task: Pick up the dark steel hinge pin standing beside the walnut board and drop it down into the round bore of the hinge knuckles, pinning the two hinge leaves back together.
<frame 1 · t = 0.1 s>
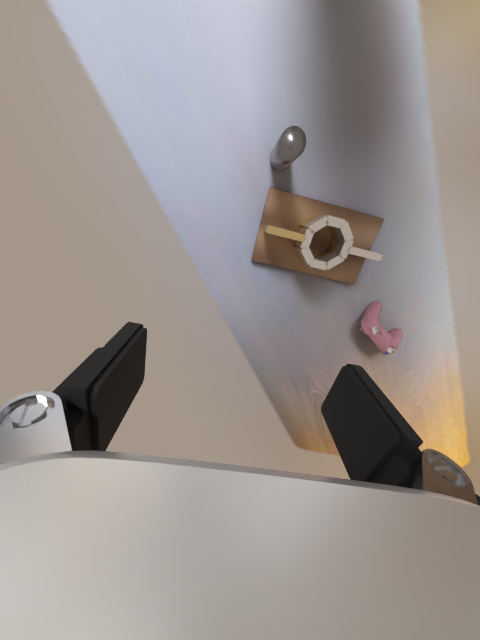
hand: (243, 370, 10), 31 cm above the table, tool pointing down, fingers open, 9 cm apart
hinge: (321, 242, 34), on the mounting board, point 4 cm above the table
mounting board: (313, 239, 37), on the table
hinge pin: (280, 158, 32), on the table
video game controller: (373, 323, 45), on the table
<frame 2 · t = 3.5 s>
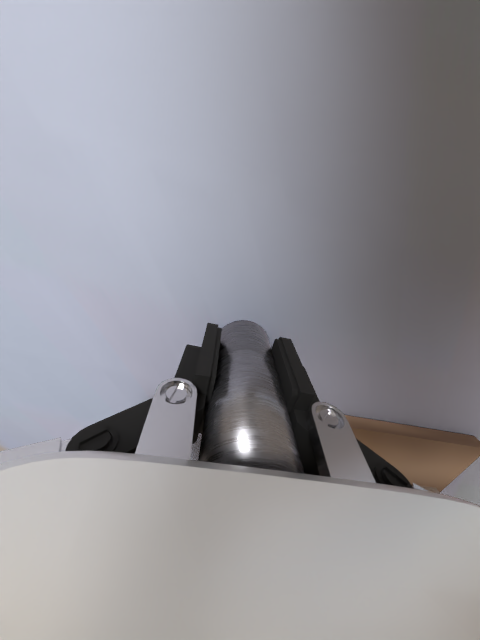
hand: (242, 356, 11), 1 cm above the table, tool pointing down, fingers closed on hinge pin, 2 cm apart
mounting board: (324, 465, 18), on the table
hinge pin: (242, 344, 13), on the table, touching gripper
when the fingers open (9 cm above the table, at t = 7.6 s): hinge pin drops 5 cm, resting on mounting board.
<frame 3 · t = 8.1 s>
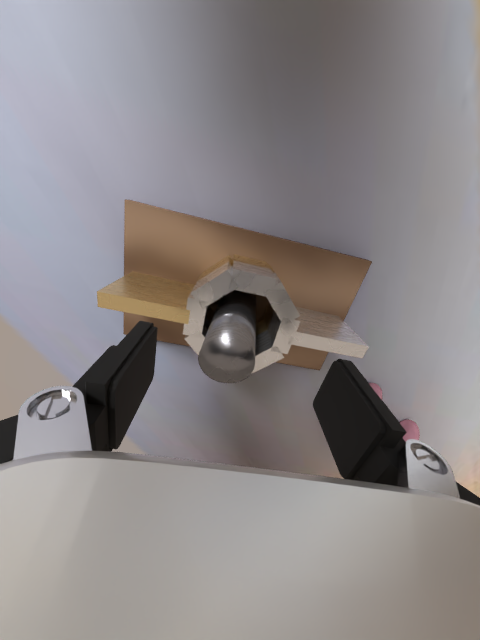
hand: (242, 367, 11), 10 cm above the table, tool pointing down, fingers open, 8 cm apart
hinge: (240, 312, 17), on the mounting board, point 4 cm above the table
mounting board: (239, 296, 20), on the table
hinge pin: (238, 301, 19), point 1 cm above the table, tilted 6°, touching mounting board
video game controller: (370, 411, 27), on the table
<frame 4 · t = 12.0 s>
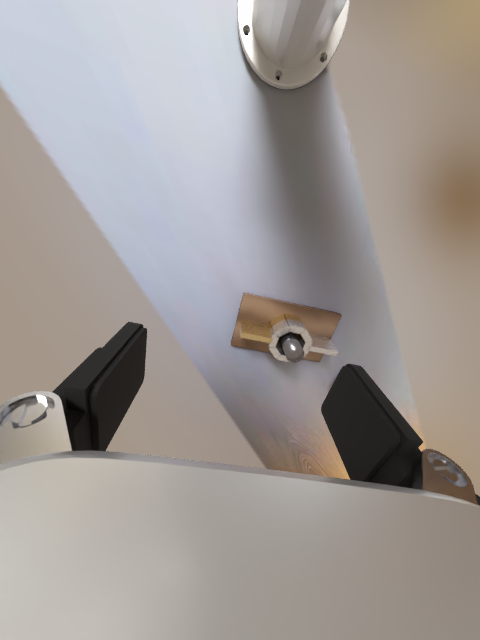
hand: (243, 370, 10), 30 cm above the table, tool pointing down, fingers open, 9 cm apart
hinge: (287, 337, 41), on the mounting board, point 4 cm above the table
mounting board: (283, 328, 44), on the table
hinge pin: (284, 331, 43), point 1 cm above the table, touching mounting board
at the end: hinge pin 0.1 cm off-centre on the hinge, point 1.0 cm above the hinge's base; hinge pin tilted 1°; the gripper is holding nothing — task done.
